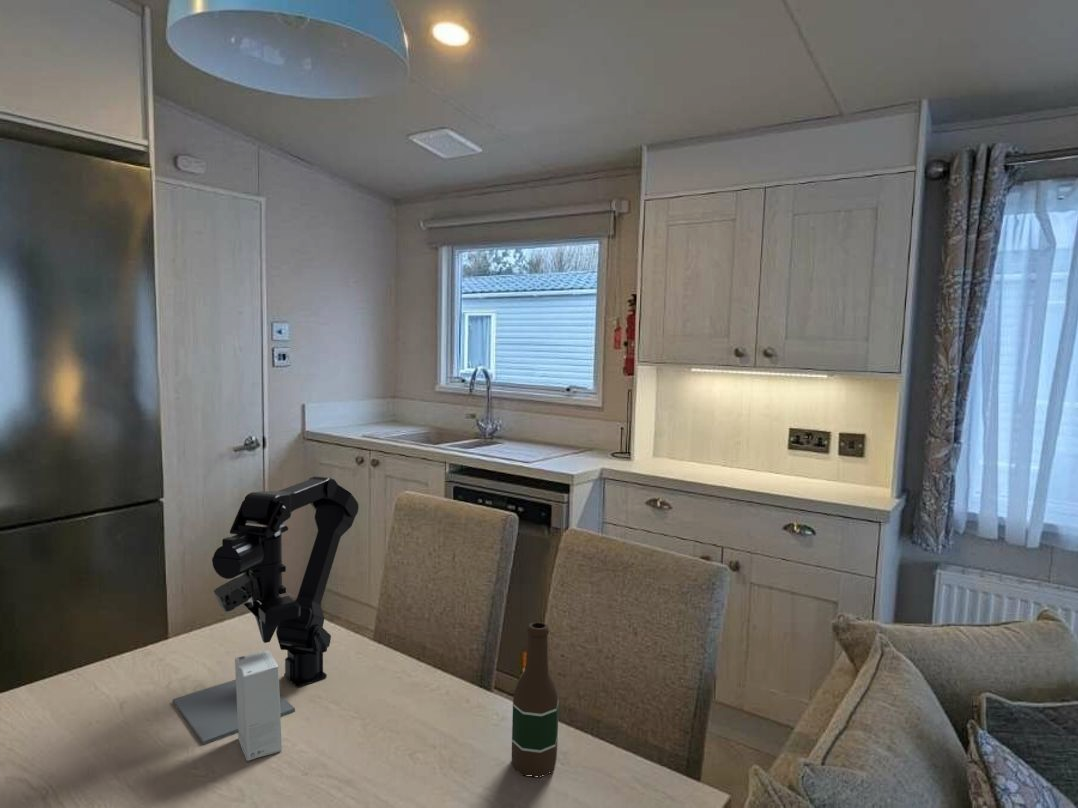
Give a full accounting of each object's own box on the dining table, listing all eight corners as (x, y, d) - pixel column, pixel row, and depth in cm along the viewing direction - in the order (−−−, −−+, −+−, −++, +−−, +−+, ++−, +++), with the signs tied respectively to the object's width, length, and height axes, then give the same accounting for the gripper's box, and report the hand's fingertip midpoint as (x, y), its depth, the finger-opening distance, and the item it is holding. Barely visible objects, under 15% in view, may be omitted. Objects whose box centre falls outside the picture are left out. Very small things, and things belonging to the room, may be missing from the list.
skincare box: (282, 751, 113) (282, 667, 112) (244, 763, 110) (243, 676, 109) (271, 727, 120) (270, 647, 119) (235, 737, 117) (234, 655, 116)
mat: (257, 675, 139) (257, 672, 139) (294, 711, 126) (294, 708, 126) (172, 702, 128) (172, 699, 128) (203, 744, 115) (203, 741, 115)
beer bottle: (541, 785, 106) (546, 639, 104) (501, 768, 111) (505, 627, 108) (566, 760, 113) (570, 622, 111) (527, 744, 117) (531, 611, 115)
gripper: (203, 555, 126) (205, 636, 127) (235, 584, 112) (236, 674, 113) (264, 545, 133) (265, 621, 134) (301, 571, 119) (302, 655, 120)
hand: (266, 641), depth 125 cm, fingers closed
